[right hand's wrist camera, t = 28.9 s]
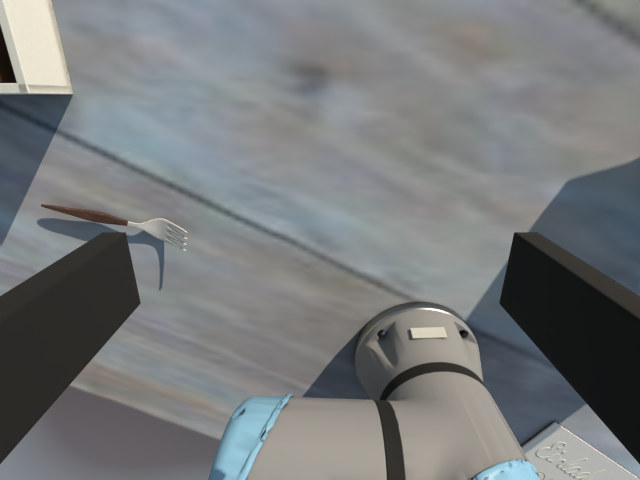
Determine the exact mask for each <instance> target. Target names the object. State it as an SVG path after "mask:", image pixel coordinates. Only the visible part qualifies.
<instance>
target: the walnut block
mask: <svg viewBox="0 0 640 480" xmlns="http://www.w3.org/2000/svg"><path fill="white" fill-rule="evenodd" d="M0 83H17V82H16V78H15V74H14V71H13V67H12V64H11V60H10V57H9V53H8V50H7V46H6V43H5V39H4V36H3V32H2V29H1V25H0Z"/></svg>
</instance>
